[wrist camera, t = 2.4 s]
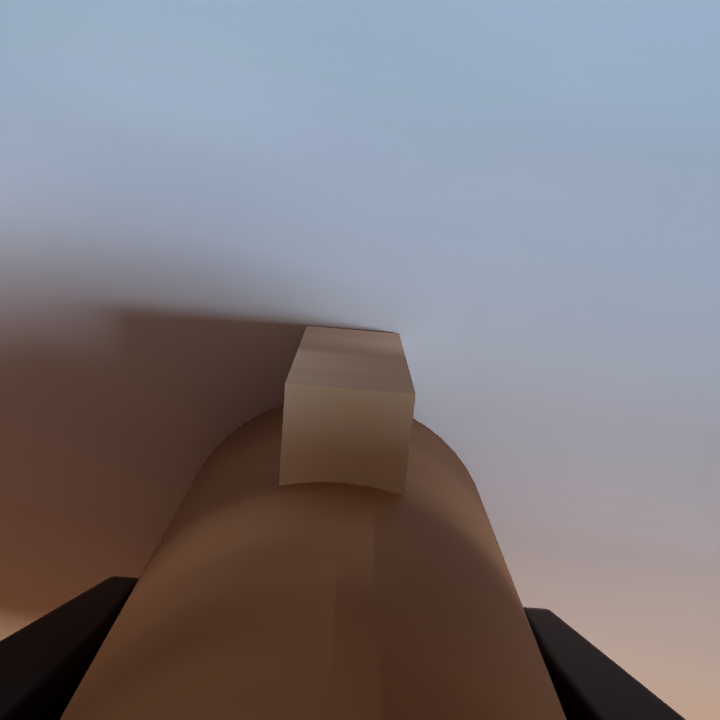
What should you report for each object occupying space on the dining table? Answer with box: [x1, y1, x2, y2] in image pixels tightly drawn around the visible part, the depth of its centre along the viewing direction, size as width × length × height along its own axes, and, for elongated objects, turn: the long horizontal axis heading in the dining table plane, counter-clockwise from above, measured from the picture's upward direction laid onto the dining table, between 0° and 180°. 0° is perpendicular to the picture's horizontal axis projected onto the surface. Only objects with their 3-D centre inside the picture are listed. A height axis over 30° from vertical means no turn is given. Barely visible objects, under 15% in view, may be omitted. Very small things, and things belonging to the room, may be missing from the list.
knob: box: [60, 326, 567, 720], centre depth 7 cm, size 5×6×7 cm
